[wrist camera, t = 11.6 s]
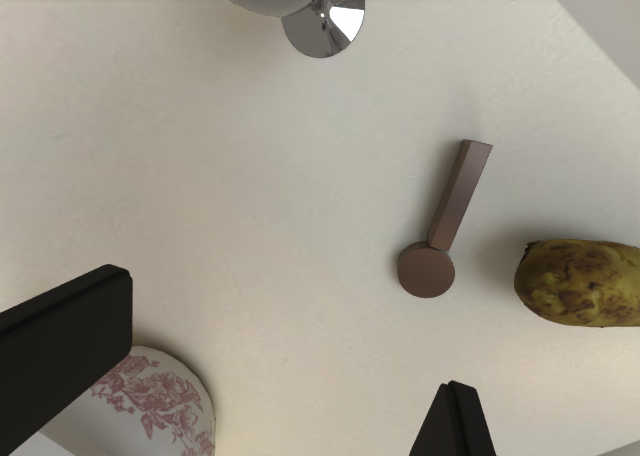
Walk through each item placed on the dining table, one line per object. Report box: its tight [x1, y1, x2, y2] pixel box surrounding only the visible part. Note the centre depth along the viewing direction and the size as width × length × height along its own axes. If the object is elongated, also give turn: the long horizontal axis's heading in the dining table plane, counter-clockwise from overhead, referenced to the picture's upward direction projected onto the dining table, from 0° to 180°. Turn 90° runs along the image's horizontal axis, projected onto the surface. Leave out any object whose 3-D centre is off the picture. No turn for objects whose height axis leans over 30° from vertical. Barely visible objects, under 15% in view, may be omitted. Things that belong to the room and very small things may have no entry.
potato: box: [514, 239, 640, 328], centre depth 24 cm, size 8×13×8 cm, turn 61°
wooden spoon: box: [398, 140, 493, 298], centre depth 27 cm, size 14×5×3 cm, turn 166°
